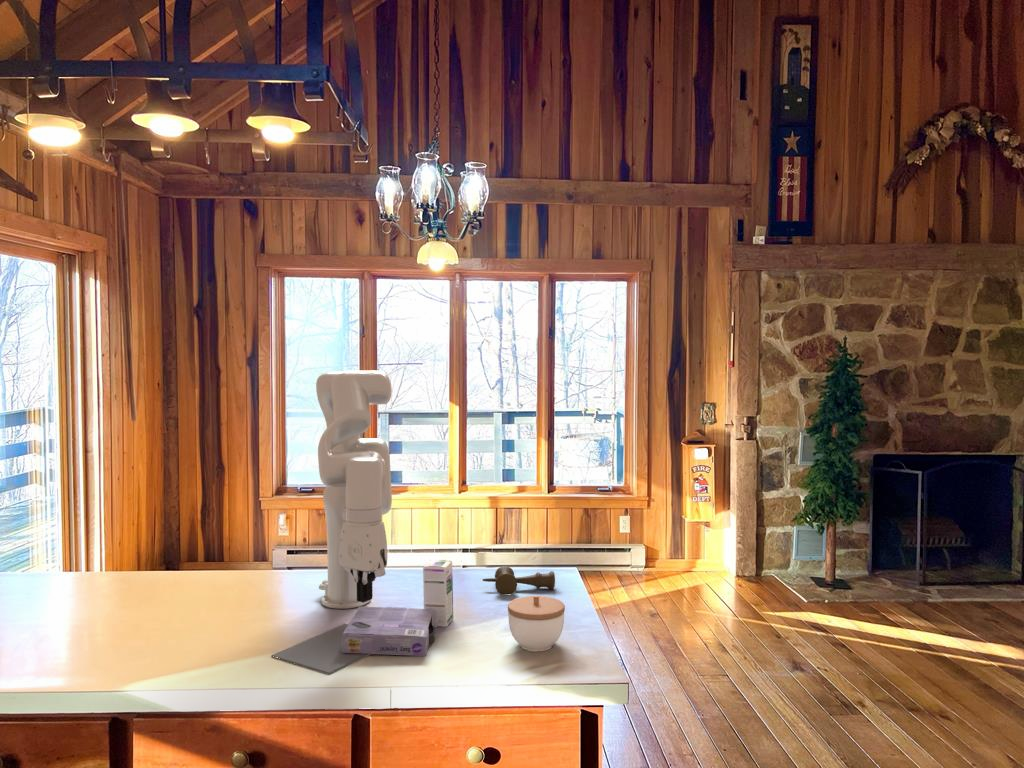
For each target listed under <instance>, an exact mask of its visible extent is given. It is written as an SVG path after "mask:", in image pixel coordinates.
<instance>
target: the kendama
mask: <svg viewBox="0 0 1024 768" xmlns="http://www.w3.org/2000/svg"><path fill="white" fill-rule="evenodd" d="M481 580H482V582H493V583H495V584H494V586H495V590H496V591H497V593H498V594H500V595H501V594H511V595H513V594H515V592H516V591H517V588H518V584H522V585H526V586H527V585H529V586H534V587H535V588H536V589H540V588H547V589H550V590H551V591H553V590H555V586H556V575H555V572H554V570H551V571H549V572H547V573H541V572H536V573H535V574H532V575H527V576H526V575H525V576H518V577H516V576H515V572H514V570H513V568H511V567H509V566H500V567H498V568H497V569H496V571H495V573H494V578H492V577H491V578H482V579H481Z"/></svg>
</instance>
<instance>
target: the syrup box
mask: <svg viewBox="0 0 1024 768" xmlns="http://www.w3.org/2000/svg"><path fill="white" fill-rule="evenodd" d="M422 570H423V571H422V573H423V574H422V576H423V577H422V578H423V609H434V626H442V627H441V628H447V627H448V626H449V625H450V623H451V622H452V621H453V619H454V589H453V588H454V587H453V586H454V585H453V584H454V582H453V580H454V579H453V577H454V576H453V561H452V560H446V559H445V560H444V559H433V560H432V559H430V561H429V562H428V563H426V564H425V565H424V566H423V567H422Z"/></svg>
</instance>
